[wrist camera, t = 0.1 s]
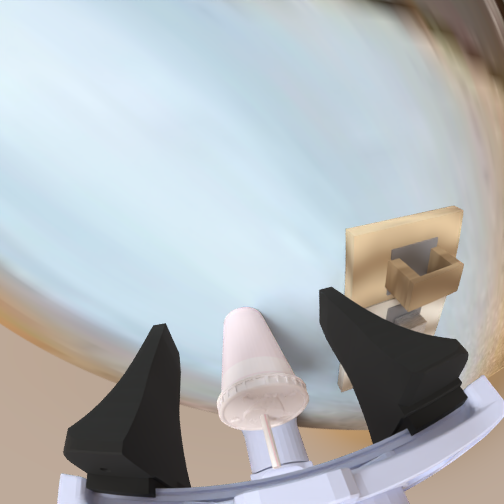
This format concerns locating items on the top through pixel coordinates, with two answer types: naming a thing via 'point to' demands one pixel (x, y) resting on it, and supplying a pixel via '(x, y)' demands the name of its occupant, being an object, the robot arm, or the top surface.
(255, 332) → the smoothie
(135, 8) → the top surface
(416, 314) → the brushed metal block
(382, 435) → the robot arm
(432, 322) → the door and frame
